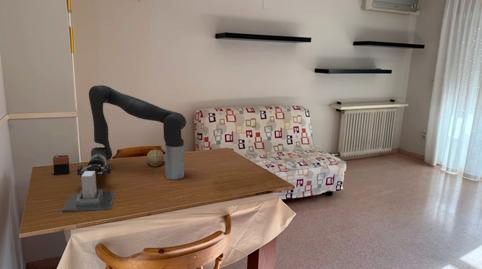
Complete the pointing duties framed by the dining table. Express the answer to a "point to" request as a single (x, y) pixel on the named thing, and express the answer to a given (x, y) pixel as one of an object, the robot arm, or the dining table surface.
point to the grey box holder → (89, 202)
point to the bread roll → (155, 157)
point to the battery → (61, 164)
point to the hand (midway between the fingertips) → (92, 175)
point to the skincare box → (89, 185)
